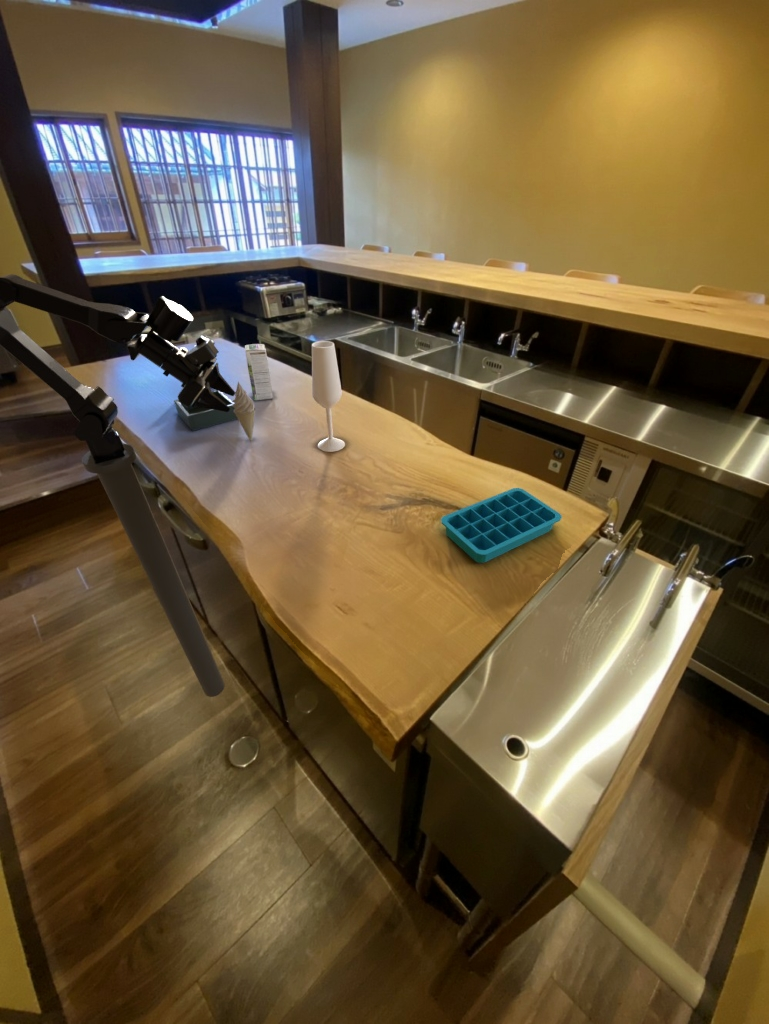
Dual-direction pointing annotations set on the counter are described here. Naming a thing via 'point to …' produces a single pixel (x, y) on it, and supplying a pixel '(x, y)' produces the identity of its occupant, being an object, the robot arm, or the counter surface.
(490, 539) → the ice cube tray
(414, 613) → the counter surface
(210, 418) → the bin
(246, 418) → the ice cream cone
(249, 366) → the syrup box
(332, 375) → the champagne flute
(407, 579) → the counter surface
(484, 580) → the counter surface
